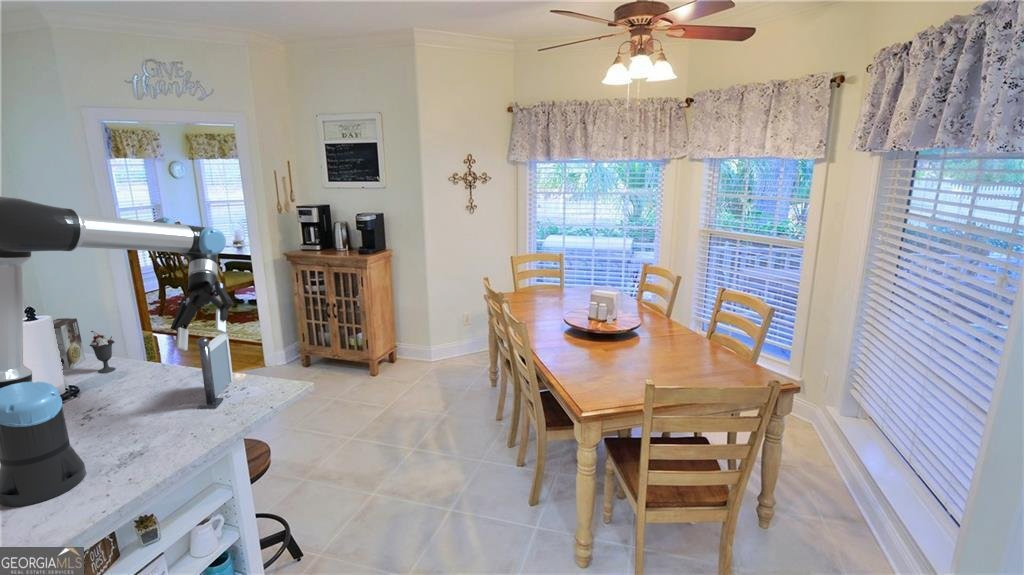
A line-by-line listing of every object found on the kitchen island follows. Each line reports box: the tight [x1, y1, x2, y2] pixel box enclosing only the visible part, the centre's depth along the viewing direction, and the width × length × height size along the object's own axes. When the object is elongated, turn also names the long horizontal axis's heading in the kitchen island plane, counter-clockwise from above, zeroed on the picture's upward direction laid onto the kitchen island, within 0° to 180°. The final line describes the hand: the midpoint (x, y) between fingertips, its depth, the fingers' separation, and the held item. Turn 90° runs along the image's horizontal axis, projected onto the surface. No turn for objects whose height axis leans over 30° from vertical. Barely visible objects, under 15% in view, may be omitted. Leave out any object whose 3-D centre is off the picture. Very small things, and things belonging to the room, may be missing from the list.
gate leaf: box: [208, 332, 234, 398], centre depth 161 cm, size 12×2×17 cm, turn 6°
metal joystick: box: [196, 336, 224, 410], centre depth 153 cm, size 5×5×22 cm
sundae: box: [89, 330, 116, 374], centre depth 176 cm, size 7×7×15 cm
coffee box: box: [52, 317, 86, 371], centre depth 180 cm, size 9×6×16 cm
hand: (201, 340), depth 143 cm, fingers open, 13 cm apart
